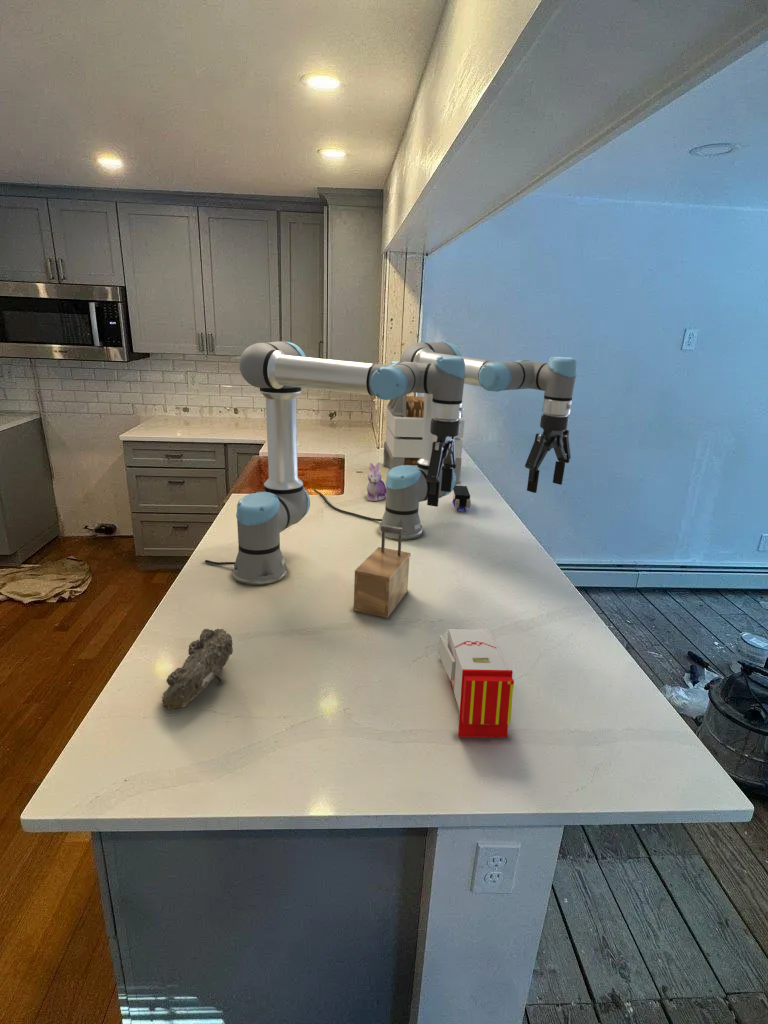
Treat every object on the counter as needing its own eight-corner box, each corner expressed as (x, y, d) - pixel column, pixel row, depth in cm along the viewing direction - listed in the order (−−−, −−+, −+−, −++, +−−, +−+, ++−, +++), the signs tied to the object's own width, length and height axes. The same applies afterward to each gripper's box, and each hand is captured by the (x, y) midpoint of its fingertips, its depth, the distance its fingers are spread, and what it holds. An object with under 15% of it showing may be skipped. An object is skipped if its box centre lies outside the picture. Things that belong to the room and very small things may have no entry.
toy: (488, 613, 130) (523, 677, 101) (484, 667, 133) (517, 744, 104) (435, 612, 130) (455, 676, 101) (432, 666, 133) (451, 743, 103)
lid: (378, 549, 160) (379, 519, 157) (410, 555, 157) (412, 525, 154) (354, 573, 145) (355, 541, 142) (389, 580, 142) (391, 547, 139)
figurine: (371, 503, 230) (372, 467, 224) (360, 495, 238) (361, 460, 233) (391, 500, 234) (393, 465, 229) (380, 493, 242) (381, 459, 237)
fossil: (186, 631, 128) (233, 600, 123) (216, 659, 131) (263, 630, 126) (139, 703, 108) (193, 670, 103) (175, 734, 111) (229, 704, 106)
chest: (376, 584, 162) (377, 550, 159) (407, 591, 159) (409, 557, 156) (353, 610, 148) (354, 573, 145) (387, 618, 145) (389, 581, 142)
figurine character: (470, 516, 223) (465, 500, 237) (473, 499, 220) (467, 484, 233) (453, 516, 223) (449, 500, 236) (455, 498, 220) (451, 483, 233)
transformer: (382, 463, 289) (386, 382, 275) (445, 464, 293) (451, 384, 279) (390, 482, 257) (394, 392, 243) (460, 483, 261) (468, 394, 247)
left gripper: (448, 429, 132) (440, 514, 139) (470, 413, 154) (463, 487, 162) (417, 425, 135) (411, 509, 142) (443, 410, 157) (438, 483, 164)
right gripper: (542, 421, 147) (531, 498, 154) (590, 412, 163) (578, 483, 170) (518, 416, 152) (508, 491, 159) (566, 408, 168) (556, 477, 176)
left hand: (439, 498), depth 152 cm, fingers open, 13 cm apart
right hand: (544, 487), depth 165 cm, fingers open, 13 cm apart
